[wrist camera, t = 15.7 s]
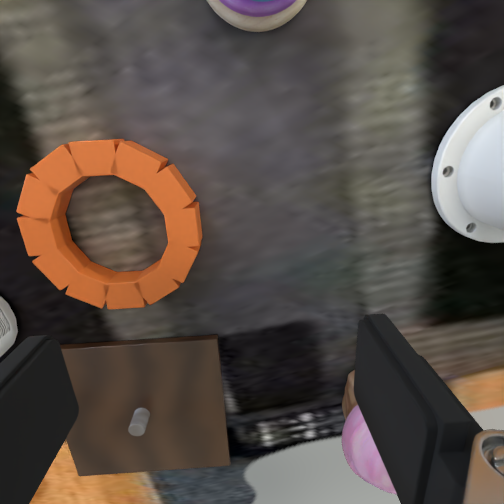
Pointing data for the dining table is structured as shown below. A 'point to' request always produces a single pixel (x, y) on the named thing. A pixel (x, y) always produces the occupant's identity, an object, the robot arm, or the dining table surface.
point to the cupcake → (361, 443)
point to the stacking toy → (257, 12)
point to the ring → (67, 252)
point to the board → (147, 405)
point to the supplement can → (7, 326)
